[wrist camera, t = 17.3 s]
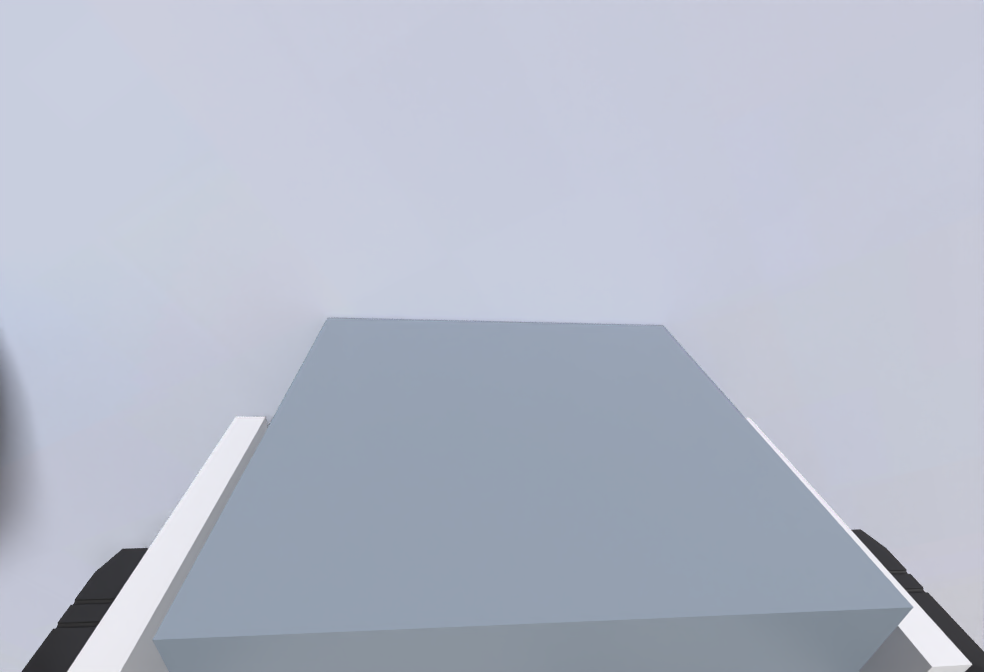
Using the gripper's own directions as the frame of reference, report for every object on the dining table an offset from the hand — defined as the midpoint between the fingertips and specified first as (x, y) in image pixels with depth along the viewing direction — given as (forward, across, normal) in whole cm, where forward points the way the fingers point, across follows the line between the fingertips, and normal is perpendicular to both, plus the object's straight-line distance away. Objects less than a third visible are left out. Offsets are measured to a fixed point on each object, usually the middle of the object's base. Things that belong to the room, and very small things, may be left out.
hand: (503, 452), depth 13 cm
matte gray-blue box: (+2, 0, +2) cm, 3 cm away
